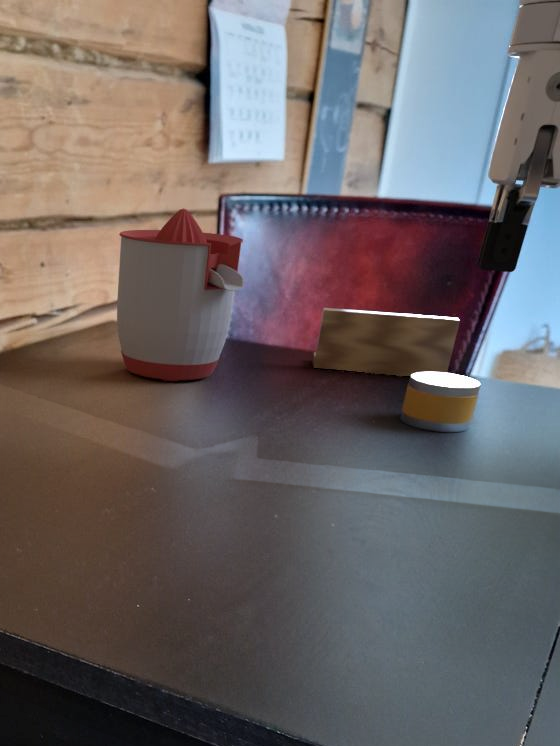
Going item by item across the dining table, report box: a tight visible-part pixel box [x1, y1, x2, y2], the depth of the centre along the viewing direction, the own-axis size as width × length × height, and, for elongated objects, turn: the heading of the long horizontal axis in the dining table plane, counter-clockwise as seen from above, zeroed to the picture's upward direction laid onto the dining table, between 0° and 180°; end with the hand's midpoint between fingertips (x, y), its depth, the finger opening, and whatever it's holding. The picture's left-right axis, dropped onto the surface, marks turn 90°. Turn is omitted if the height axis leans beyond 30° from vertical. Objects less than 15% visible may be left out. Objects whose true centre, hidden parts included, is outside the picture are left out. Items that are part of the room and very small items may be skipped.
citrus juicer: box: [116, 208, 244, 382], centre depth 111 cm, size 16×17×20 cm
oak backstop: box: [312, 307, 461, 377], centre depth 121 cm, size 18×6×8 cm, turn 79°
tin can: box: [400, 372, 482, 433], centre depth 98 cm, size 8×8×5 cm
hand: (495, 269), depth 81 cm, fingers closed
